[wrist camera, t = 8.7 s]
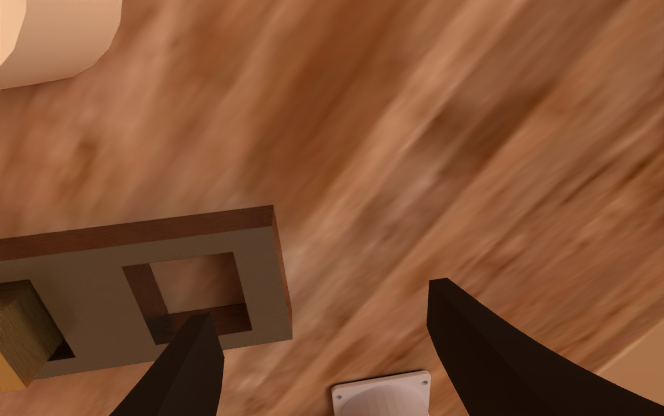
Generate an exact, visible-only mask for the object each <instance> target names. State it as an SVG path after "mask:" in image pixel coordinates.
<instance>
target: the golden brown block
mask: <svg viewBox="0 0 664 416" xmlns="http://www.w3.org/2000/svg"><path fill="white" fill-rule="evenodd" d="M63 340H64V336H63V335H62V333H61V331H60V330H59V328H58V326H57V325H56V323H55V321H54V320H53V318H52V316H51V315H50V313H49V311H48V310H47V308H46V306H45V305H44V303H43V301H42V300H41V298H40V296H39V295H38V293H37V291H36V290H35V288H34V286H33V285H32V283H31V281H30V280H29V279H26V280H18V281H11V282H3V283H0V393H3V392H10V391H16V390H22V389H27V388H28V386H29V385H30V384H31V382H32V381H33V380H34V378H35V377H36V376H37V374H38V373H39V372H40V370H41V369H42V368H43V366H44V365H45V364H46V362H47V361H48V360H49V358H50V357H51V356H52V354H53V353H54V352H55V350H56V349H57V348H58V346H59V345H60V344H61V342H62V341H63Z"/></svg>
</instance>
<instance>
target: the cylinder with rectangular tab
mask: <svg viewBox="0 0 664 416" xmlns="http://www.w3.org/2000/svg"><path fill="white" fill-rule="evenodd" d="M121 7H122V0H0V90H2V89H8V88H14V87H20V86H26V85H32V84H39V83H45V82H50V81H55V80H60V79H66V78H71V77H73V76H75V75H77V74H79V73H80V72H82V71H84V70H86V69H88V68H90V67H91V66H93V65H94V64H95V63H96V62H97V61H98V60H99V59H100V57H101V56H102V55H103V54H104V53H105V52H106V51H107V50H108V48H109V47H110V45H111V43H112V40H113V38H114V36H115V33H116V31H117V29H118V26H119V24H120V17H121Z"/></svg>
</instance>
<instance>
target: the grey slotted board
mask: <svg viewBox="0 0 664 416" xmlns="http://www.w3.org/2000/svg"><path fill="white" fill-rule="evenodd" d="M227 252H233V254H234V258H235V262H236V266H237V270H238V274H239V278H240V282H241V286H242V289H243V293H244V297H245V301H246V303H244V304H237V305H230V306H223V307H216V308H210V309H203V310H196V311H189V312H182V313H175V314H168V311H167V309H166V306H165V304H164V301H163V298H162V296H161V293H160V291H159V288H158V286H157V283H156V281H155V278H154V275H153V273H152V270H151V268H150V265H149V263H152V262H160V261H167V260H175V259H182V258H190V257H197V256H205V255H212V254H219V253H227ZM26 279H29V280H30V281H31V283H32V285H33V286H34V288H35V290H36V291H37V293H38V295H39V296H40V298H41V300H42V301H43V303H44V305H45V306H46V308H47V310H48V311H49V313H50V315H51V316H52V318H53V320H54V321H55V323H56V325H57V326H58V328H59V330H60V331H61V333H62V335H63V336H64V340H63V341H62V342H61V344H60V345H59V346H58V348H57V349H56V350H55V352H54V353H53V354H52V356H51V357H50V358H49V360H48V361H47V362H46V364H45V365H44V366H43V368H42V369H41V370H40V372H39V373H38V374H37V376H36V377H35V378H34V379H41V378H47V377H53V376H60V375H66V374H73V373H79V372H85V371H92V370H98V369H105V368H111V367H118V366H124V365H130V364H137V363H143V362H150V361H156V360H157V358H158V357H159V356H160V355H161V353H162V352H163V351H164V349H165V348H166V347H167V346H168V344H169V343H170V342H171V340H172V339H173V338H174V336H175V335H176V334H177V332H178V331H179V330H180V328H181V327H182V326H183V324H184V323H185V322H186V321H187V319H188V318H189V317H190V316H191V315H197V314H203V313H211V317H212V320H213V323H214V326H215V329H216V332H217V335H218V339H219V342H220V345H221V348H222V350H227V349H233V348H240V347H246V346H252V345H259V344H265V343H272V342H278V341H285V340H291V339H292V309H291V303H290V298H289V292H288V286H287V280H286V275H285V269H284V263H283V257H282V252H281V246H280V240H279V235H278V229H277V223H276V217H275V212H274V206H273V205H270V206H262V207H254V208H246V209H238V210H230V211H222V212H214V213H206V214H198V215H190V216H182V217H174V218H166V219H158V220H150V221H142V222H134V223H126V224H118V225H110V226H102V227H94V228H86V229H78V230H70V231H62V232H54V233H46V234H38V235H30V236H22V237H14V238H6V239H0V283H3V282H11V281H18V280H26Z"/></svg>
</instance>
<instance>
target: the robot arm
mask: <svg viewBox="0 0 664 416" xmlns="http://www.w3.org/2000/svg"><path fill="white" fill-rule="evenodd" d="M427 328H428V331H429V334H430V336H431V339H432V342H433V344H434V347H435V349H436V352H437V354H438V356H439V358H440V360H441V362H442V364H443V366H444V368H445V370H446V372H447V374H448V376H449V378H450V380H451V381H452V383H453V385H454V387H455V389H456V391H457V393H458V395H459V397H460V398H461V400H462V402H463V404H464V406H465V408H466V410H467V412H468V414H469V415H470V416H664V406H662V405H660V404H658V403H655V402H653V401H651V400H649V399H646V398H644V397H641V396H639V395H637V394H635V393H633V392H631V391H628V390H626V389H624V388H622V387H620V386H618V385H616V384H614V383H612V382H610V381H608V380H605V379H604V378H602V377H600V376H598V375H596V374H594V373H592V372H590V371H588V370H586V369H584V368H582V367H580V366H578V365H576V364H574V363H573V362H571V361H569V360H567V359H566V358H564V357H562V356H560V355H559V354H557V353H555V352H553V351H552V350H550V349H548V348H546V347H545V346H543V345H541V344H540V343H538V342H537V341H535V340H533V339H532V338H530V337H529V336H527V335H526V334H524V333H523V332H521V331H519V330H518V329H516V328H515V327H513V326H512V325H511V324H509V323H508V322H506V321H505V320H503V319H502V318H500V317H499V316H498V315H496V314H495V313H493V312H492V311H491V310H489V309H488V308H487V307H485V306H484V305H482V304H481V303H480V302H478V301H477V300H476V299H474V298H473V297H472V296H471V295H469V294H468V293H467V292H465V291H464V290H463V289H461V288H460V287H459V286H457V285H456V284H455V283H453V282H452V281H451V280H449V279H448V278H442V279H435V280H429V294H428V310H427ZM223 369H224V354H223V351H222V348H221V345H220V342H219V339H218V335H217V332H216V329H215V326H214V323H213V320H212V317H211V313H203V314H197V315H191V316H190V317H189V318H188V319H187V321H186V322H185V323H184V324H183V326H182V327H181V328H180V330H179V331H178V332H177V334H176V335H175V336H174V338H173V339H172V340H171V342H170V343H169V344H168V346H167V347H166V348H165V349H164V351H163V352H162V353H161V355H160V356H159V357H158V358H157V360H156V361H155V362H154V363H153V365H152V366H151V367H150V369H149V370H148V371H147V372H146V374H145V375H144V376H143V377H142V378H141V380H140V381H139V382H138V383H137V384H136V386H135V387H134V388H133V389H132V390H131V391H130V393H129V394H128V395H127V396H126V397H125V398H124V400H123V401H122V402H121V403H120V404H119V405H118V406H117V408H116V409H115V410H114V411H113V412H112V413H111V414H110V415H109V416H216V413H217V408H218V404H219V399H220V394H221V388H222V379H223ZM430 381H431V376H430V374H429V372H428V371H418V372H412V373H406V374H400V375H394V376H388V377H382V378H376V379H370V380H364V381H358V382H352V383H346V384H340V385H336V386H334V387H333V388H332V389H331V392H332V400H333V408H334V416H430V415H429V413H428V407H429V394H430Z"/></svg>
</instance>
